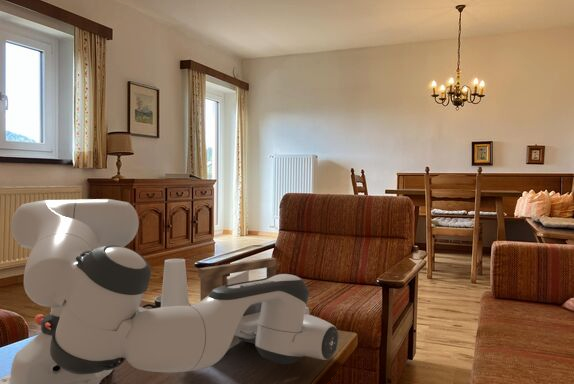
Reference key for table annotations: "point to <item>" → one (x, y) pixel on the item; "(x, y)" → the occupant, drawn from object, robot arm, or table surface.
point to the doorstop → (251, 310)
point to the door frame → (218, 274)
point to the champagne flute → (174, 284)
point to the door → (234, 279)
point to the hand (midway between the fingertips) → (249, 314)
